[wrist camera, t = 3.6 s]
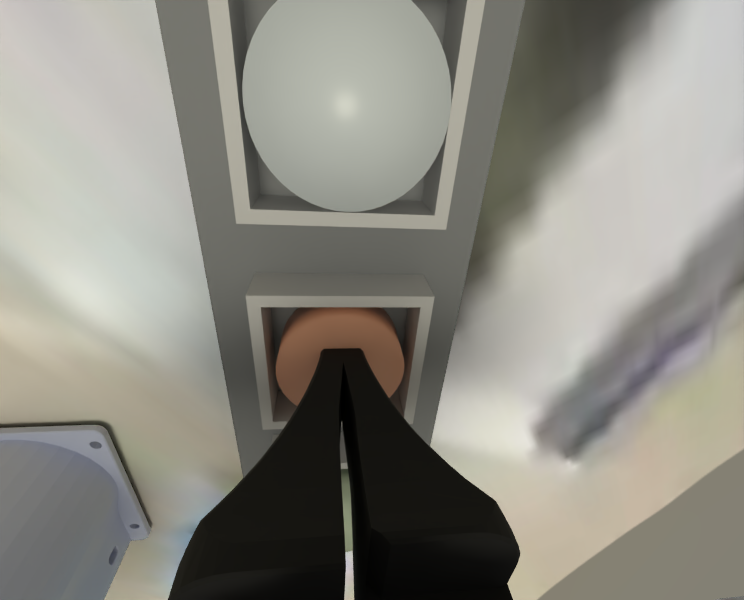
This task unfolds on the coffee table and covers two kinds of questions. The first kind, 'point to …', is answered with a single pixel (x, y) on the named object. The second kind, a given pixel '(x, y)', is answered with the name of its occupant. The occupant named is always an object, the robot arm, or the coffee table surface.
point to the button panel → (330, 212)
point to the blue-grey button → (347, 99)
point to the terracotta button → (337, 345)
